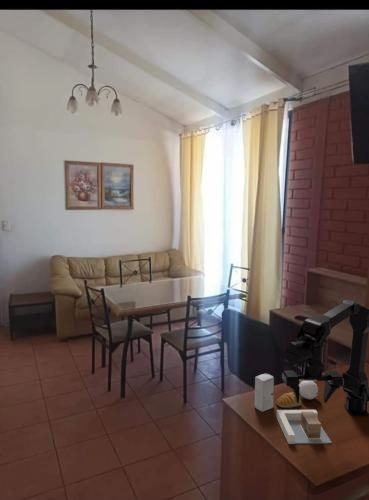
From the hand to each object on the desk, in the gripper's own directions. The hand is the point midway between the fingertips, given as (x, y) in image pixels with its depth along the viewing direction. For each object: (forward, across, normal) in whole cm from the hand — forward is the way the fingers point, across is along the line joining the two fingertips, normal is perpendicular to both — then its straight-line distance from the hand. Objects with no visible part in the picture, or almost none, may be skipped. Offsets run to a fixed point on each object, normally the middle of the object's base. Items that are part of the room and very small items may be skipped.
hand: (311, 402), depth 118 cm
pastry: (+11, +1, -18) cm, 21 cm away
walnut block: (+11, 0, 0) cm, 11 cm away
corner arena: (+11, +2, -2) cm, 11 cm away
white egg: (+11, -8, -23) cm, 26 cm away
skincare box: (+11, +12, -16) cm, 23 cm away
